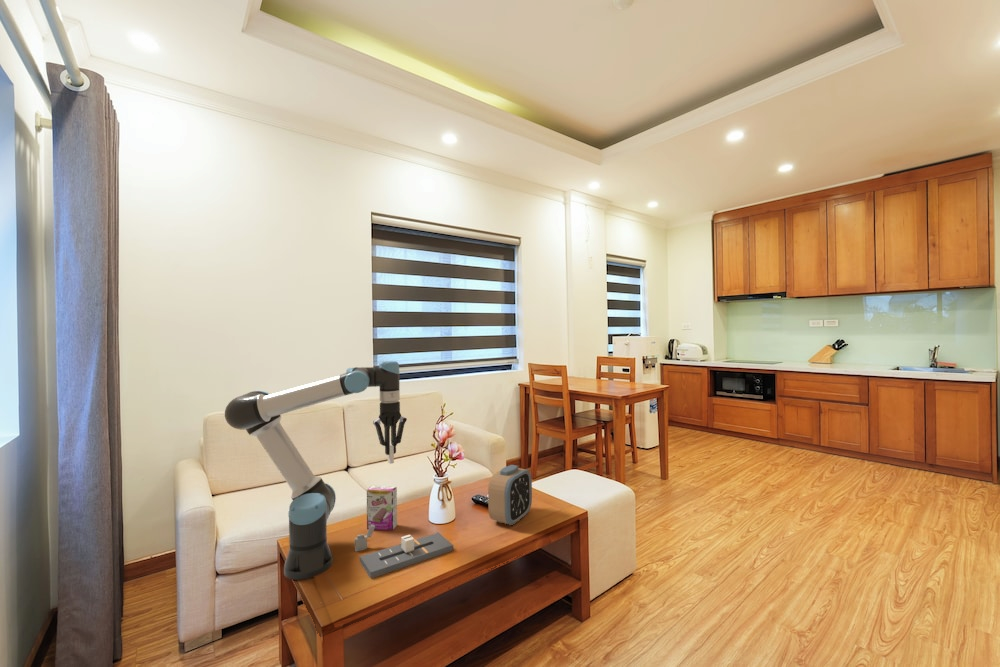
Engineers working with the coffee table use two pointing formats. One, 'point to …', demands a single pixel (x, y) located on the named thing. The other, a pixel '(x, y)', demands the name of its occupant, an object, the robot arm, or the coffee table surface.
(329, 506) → the robot arm
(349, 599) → the coffee table surface
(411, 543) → the fader knob
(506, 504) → the alarm clock
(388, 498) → the candy bar box
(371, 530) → the lighter
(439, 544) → the console
